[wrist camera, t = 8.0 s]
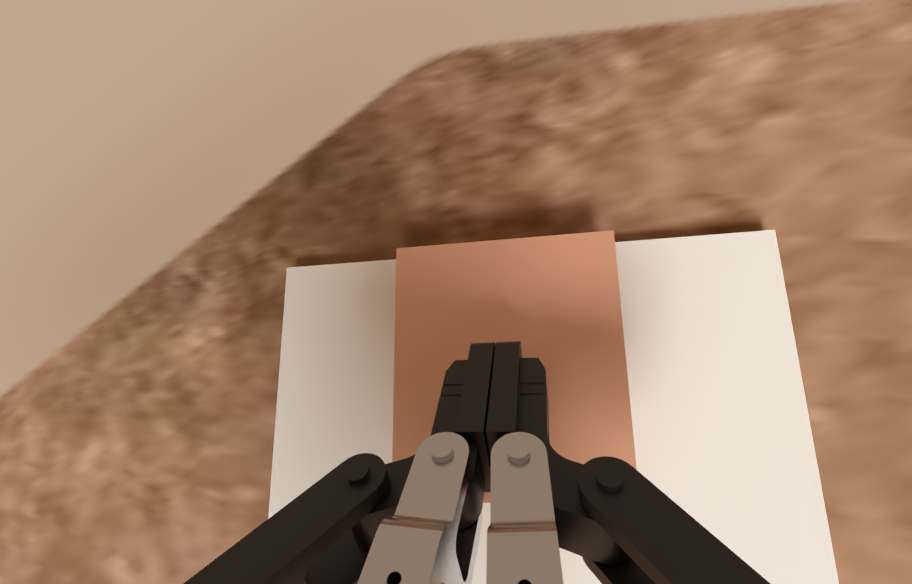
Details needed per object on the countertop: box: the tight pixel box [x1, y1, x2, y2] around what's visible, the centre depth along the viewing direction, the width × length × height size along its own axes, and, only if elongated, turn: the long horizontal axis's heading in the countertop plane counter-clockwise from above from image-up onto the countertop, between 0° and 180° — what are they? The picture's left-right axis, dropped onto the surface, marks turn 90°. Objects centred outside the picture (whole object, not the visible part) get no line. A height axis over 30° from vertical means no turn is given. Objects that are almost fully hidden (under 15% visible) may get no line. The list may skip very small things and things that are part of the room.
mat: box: [268, 230, 839, 584], centre depth 19 cm, size 20×13×1 cm, turn 90°
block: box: [392, 230, 637, 503], centre depth 18 cm, size 8×2×9 cm
